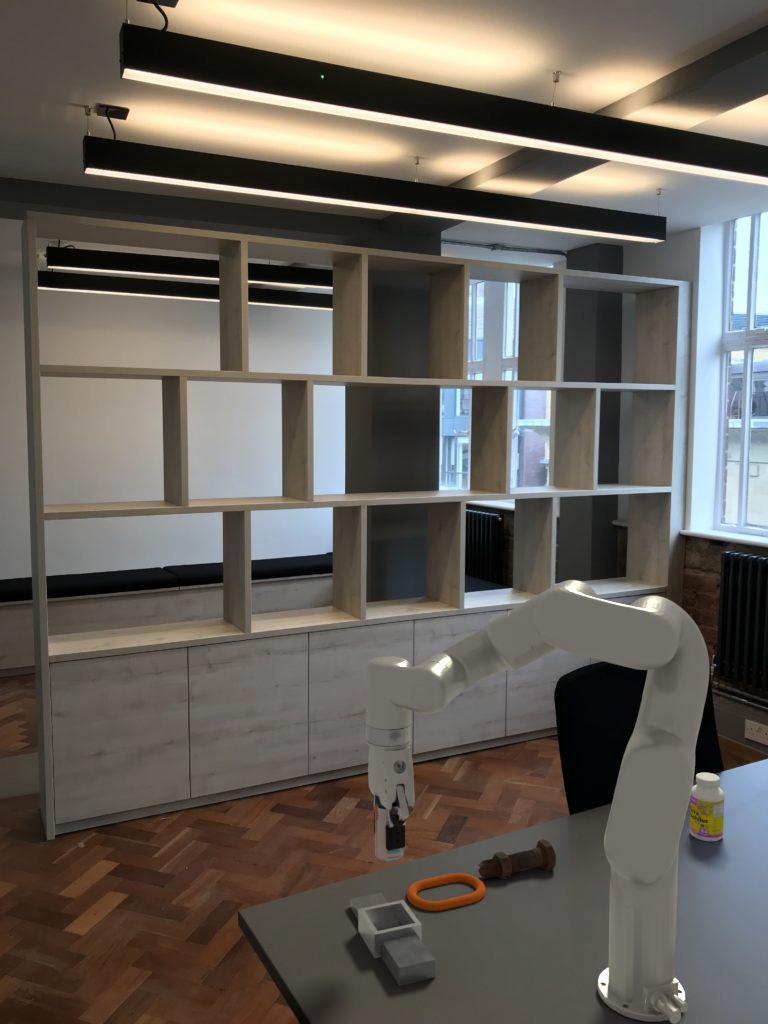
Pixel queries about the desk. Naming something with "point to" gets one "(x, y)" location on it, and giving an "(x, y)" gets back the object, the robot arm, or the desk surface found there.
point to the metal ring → (448, 902)
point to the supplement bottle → (707, 808)
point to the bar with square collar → (394, 937)
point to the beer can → (384, 833)
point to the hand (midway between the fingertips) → (389, 839)
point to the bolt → (519, 861)
